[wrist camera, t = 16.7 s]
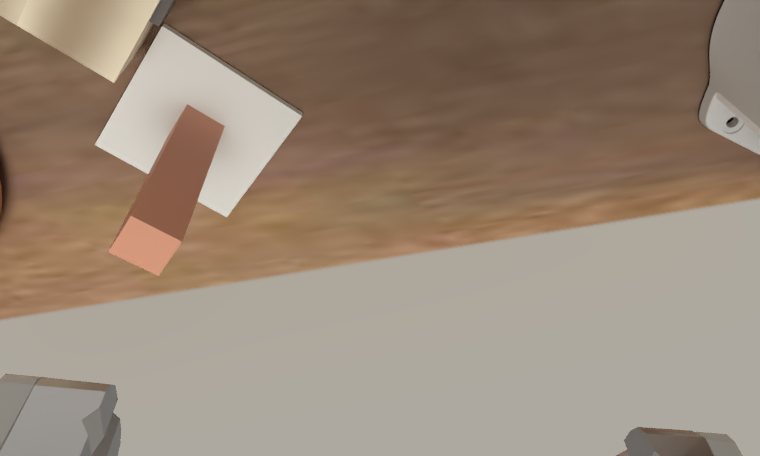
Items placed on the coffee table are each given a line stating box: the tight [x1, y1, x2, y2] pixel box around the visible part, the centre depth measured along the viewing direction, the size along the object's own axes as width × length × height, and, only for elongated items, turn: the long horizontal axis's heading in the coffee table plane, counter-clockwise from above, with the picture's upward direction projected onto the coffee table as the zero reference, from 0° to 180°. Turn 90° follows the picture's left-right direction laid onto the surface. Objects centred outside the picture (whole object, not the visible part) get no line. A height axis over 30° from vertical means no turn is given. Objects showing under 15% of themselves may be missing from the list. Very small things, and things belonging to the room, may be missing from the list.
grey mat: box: [95, 23, 303, 217], centre depth 47 cm, size 11×11×1 cm
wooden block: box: [109, 104, 225, 276], centre depth 41 cm, size 3×3×14 cm
